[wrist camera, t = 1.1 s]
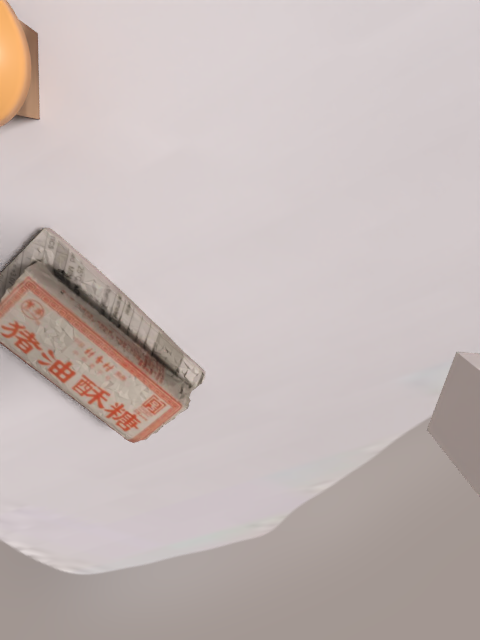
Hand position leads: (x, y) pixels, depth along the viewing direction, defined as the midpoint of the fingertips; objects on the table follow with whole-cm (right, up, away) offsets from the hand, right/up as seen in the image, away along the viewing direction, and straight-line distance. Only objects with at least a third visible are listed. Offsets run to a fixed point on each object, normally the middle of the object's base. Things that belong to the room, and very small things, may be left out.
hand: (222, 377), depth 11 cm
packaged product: (-12, 0, +24) cm, 26 cm away
